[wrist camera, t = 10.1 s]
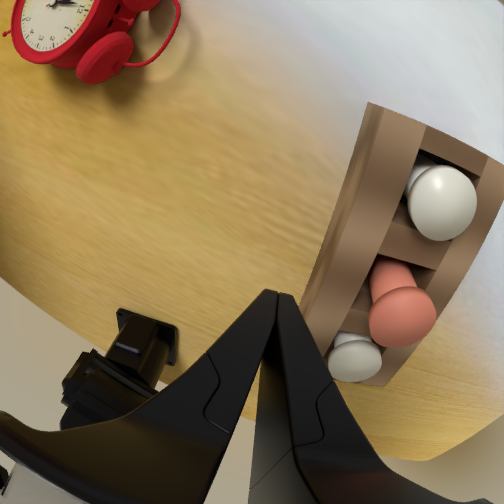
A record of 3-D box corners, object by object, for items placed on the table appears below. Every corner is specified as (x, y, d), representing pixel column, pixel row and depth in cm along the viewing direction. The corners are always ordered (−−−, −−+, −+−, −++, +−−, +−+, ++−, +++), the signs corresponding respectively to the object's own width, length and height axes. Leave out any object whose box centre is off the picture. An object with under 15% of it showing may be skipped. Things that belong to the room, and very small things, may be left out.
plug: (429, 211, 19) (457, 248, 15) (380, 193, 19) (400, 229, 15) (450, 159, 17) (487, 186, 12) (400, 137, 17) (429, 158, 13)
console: (380, 351, 27) (385, 387, 23) (287, 333, 27) (283, 370, 24) (484, 153, 16) (516, 173, 13) (367, 101, 16) (384, 108, 13)
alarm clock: (38, -62, 8) (167, -67, 7) (93, -49, 13) (225, -26, 13) (-11, 53, 13) (74, 118, 13) (45, 50, 19) (147, 110, 18)
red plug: (399, 299, 21) (414, 352, 16) (351, 288, 21) (358, 342, 17) (424, 255, 19) (448, 304, 14) (373, 239, 19) (389, 289, 14)
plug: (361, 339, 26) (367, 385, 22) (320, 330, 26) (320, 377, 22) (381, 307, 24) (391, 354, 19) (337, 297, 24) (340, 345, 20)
